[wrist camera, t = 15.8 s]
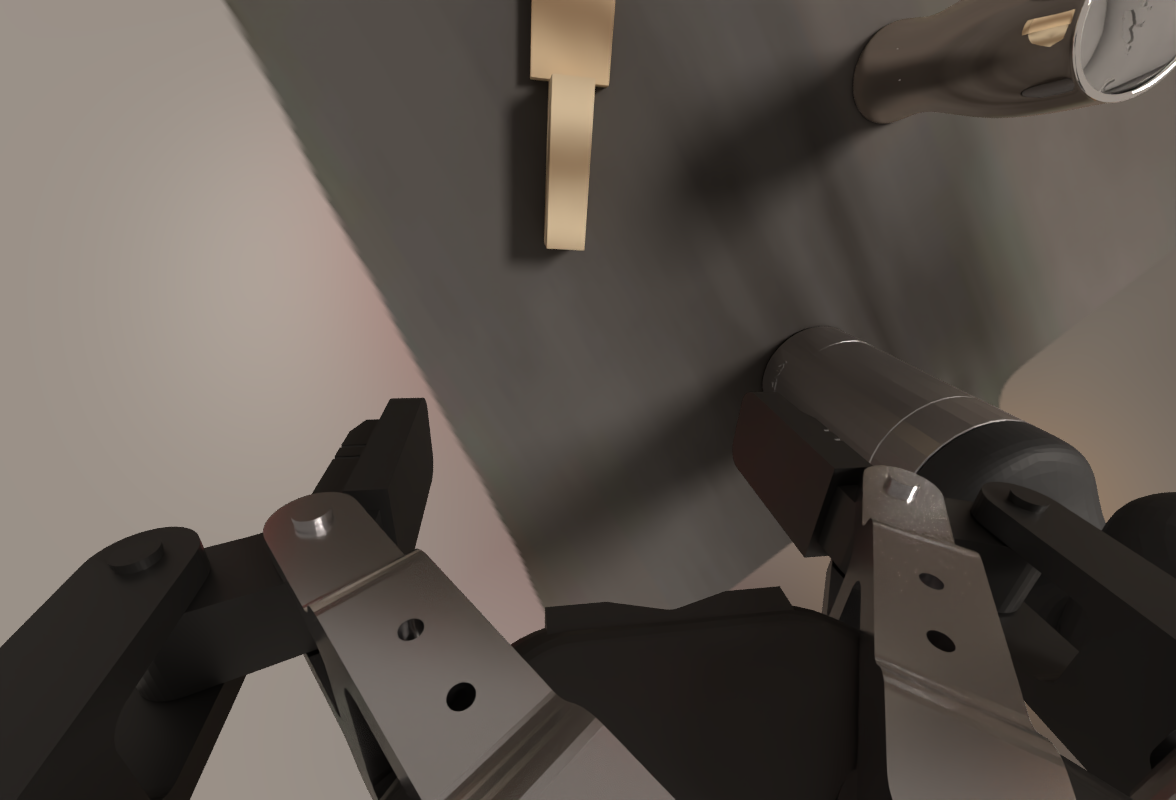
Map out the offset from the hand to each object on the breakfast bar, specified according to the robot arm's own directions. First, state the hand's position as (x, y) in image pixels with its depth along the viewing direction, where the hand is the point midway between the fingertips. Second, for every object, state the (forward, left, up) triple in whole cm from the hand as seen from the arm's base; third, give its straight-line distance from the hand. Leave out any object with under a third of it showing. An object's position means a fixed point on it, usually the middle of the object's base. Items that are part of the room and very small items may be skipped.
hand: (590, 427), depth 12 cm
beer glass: (-25, -13, -26) cm, 39 cm away
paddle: (-2, -9, -26) cm, 28 cm away
